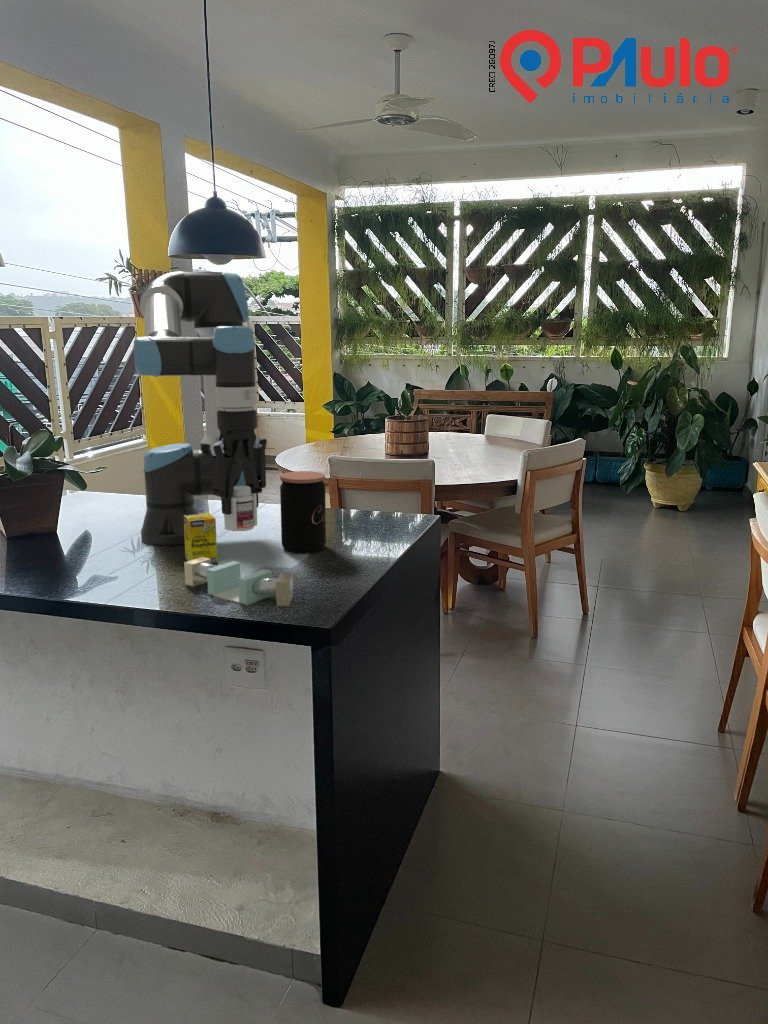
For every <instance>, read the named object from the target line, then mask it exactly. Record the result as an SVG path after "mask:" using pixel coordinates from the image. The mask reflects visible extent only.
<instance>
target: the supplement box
mask: <svg viewBox="0 0 768 1024" xmlns="http://www.w3.org/2000/svg"><path fill="white" fill-rule="evenodd" d="M216 523H217V521H216V517H215V516H213V515H212V514H211V512H205V513H197V514H195V515H184V537H185V544H184V553H185V554H184V556H185V562H187V561H189V560H191V559H197V558H201V557H206V558H209V559H211V564H213V565H216V566H218V548H217V547H218V546H217V544H218V543H217V524H216Z"/></svg>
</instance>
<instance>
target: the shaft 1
mask: <svg viewBox="0 0 768 1024" xmlns="http://www.w3.org/2000/svg"><path fill="white" fill-rule="evenodd" d="M183 565H184V566H183V567H184V581H185V582H184V584H185V585H186V586H189V587H192V588H194V587H197V586H200V585H203V584H206V583H208V581H207V569H210V568H213V567H216V566H217V565H213V564H211V559H209V558H206V557H201V558H197V559H191V560H189V561H187V562H186V561H184V563H183Z"/></svg>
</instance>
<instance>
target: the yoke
mask: <svg viewBox="0 0 768 1024" xmlns="http://www.w3.org/2000/svg"><path fill="white" fill-rule="evenodd" d="M241 574H242V573H241V562H238V561H234V560H232V561H229V562H227V563H223V564H220V565H216V567H213V568H210V569H207V581H208V582H207V594H208V595H210V596H213V597H216V598H219V599H222V600H225V601H228V600H230V601H229V602H232V601H233V602H232V603H235V602H236V603H235V604H238V603H239V605H241V604H242V606H245V607H249V606H250V605H254V604H256V603H258V601H259V602H260V601H263V599H264V600H267V599H269V598H272V597H273V595H271V594H254V593H253V591H252V585H253V583H254V582H255V580H257V579H258V578H273V571H271V570H268V569H265V568H264V569H261V570H258V571H255V572H253V573H250V574H246V575H243V576H241ZM266 598H267V599H266Z"/></svg>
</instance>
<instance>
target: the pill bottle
mask: <svg viewBox="0 0 768 1024" xmlns="http://www.w3.org/2000/svg"><path fill="white" fill-rule="evenodd" d="M250 494H251V487H250V486H244V485H240V486H234V489H233V496H232V497H234V498H236V511H237V531H236V532H246V531H247V532H248V531H252V530H253V529H254V528H255V526H254V512H253V497H252V496H250Z"/></svg>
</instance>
